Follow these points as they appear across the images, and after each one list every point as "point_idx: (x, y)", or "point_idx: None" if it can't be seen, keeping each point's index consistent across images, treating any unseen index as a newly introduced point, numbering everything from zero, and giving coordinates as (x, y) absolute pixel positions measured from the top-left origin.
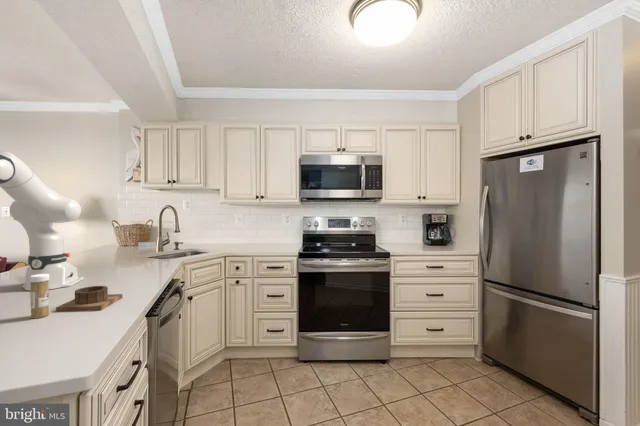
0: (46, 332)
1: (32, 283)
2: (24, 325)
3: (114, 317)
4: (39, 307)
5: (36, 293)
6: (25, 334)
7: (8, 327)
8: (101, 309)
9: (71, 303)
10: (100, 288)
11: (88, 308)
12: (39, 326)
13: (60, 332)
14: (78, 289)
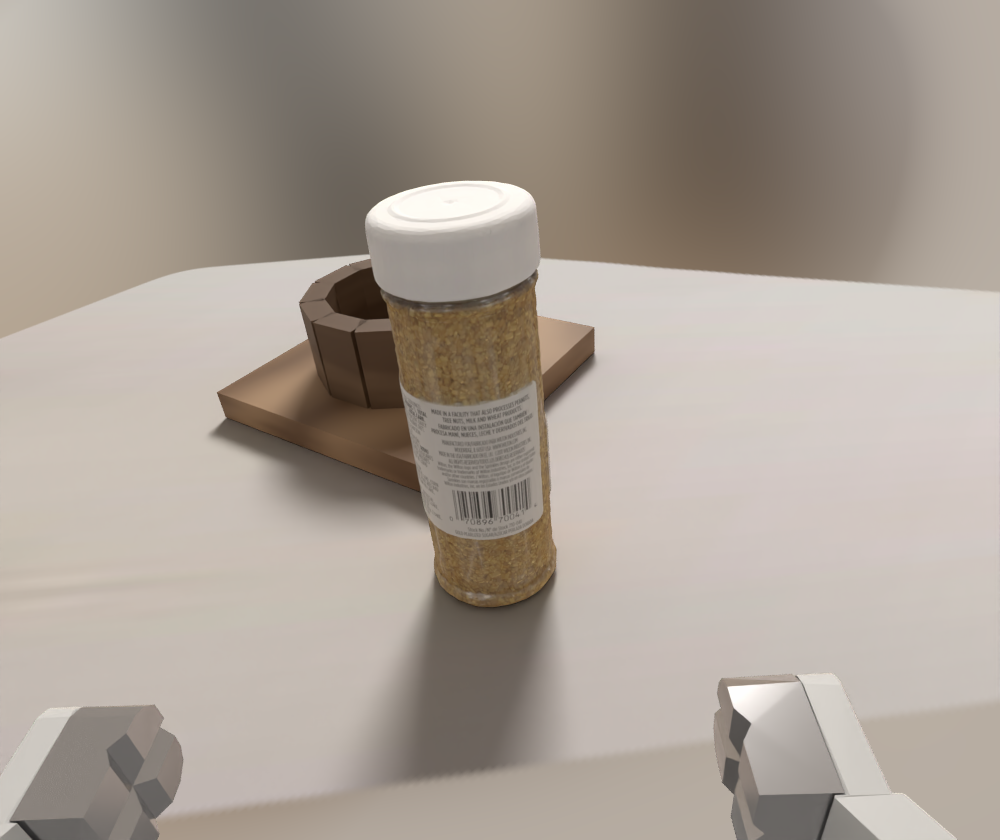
0: (955, 500)
1: (513, 299)
2: (705, 623)
3: (773, 317)
4: (549, 489)
5: (537, 386)
6: (968, 590)
7: (703, 720)
8: (593, 347)
9: (401, 419)
10: (366, 280)
11: (557, 373)
12: (786, 542)
13: (977, 449)
14: (335, 323)
